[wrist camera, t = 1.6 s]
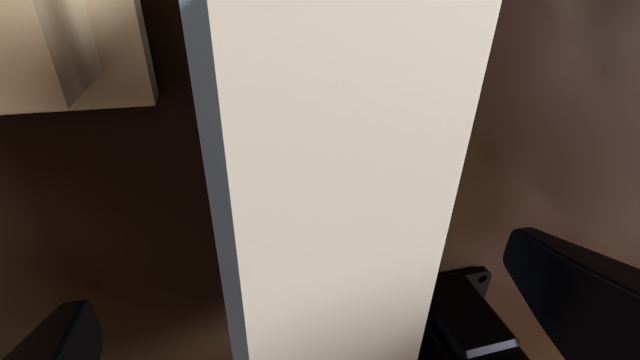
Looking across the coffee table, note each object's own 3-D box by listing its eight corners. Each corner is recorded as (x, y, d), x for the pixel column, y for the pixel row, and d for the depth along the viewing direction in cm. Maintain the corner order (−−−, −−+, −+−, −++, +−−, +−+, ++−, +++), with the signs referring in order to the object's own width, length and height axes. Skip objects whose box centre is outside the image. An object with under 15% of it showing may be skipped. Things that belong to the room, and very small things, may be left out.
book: (324, 253, 17) (405, 450, 10) (232, 268, 16) (252, 497, 9) (334, -34, 11) (529, -25, 4) (193, -37, 10) (168, -32, 4)
